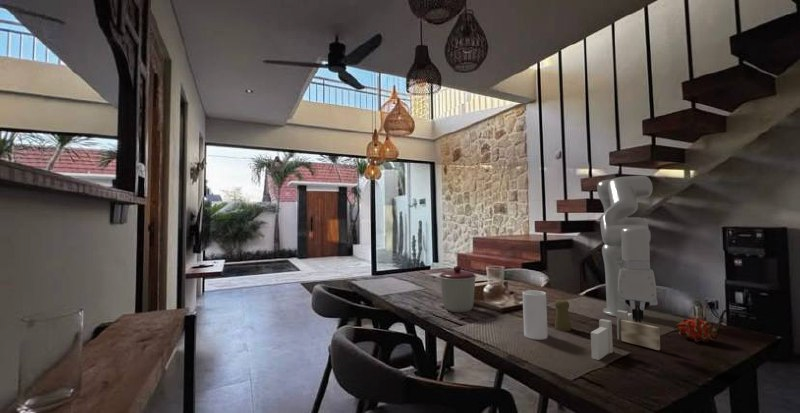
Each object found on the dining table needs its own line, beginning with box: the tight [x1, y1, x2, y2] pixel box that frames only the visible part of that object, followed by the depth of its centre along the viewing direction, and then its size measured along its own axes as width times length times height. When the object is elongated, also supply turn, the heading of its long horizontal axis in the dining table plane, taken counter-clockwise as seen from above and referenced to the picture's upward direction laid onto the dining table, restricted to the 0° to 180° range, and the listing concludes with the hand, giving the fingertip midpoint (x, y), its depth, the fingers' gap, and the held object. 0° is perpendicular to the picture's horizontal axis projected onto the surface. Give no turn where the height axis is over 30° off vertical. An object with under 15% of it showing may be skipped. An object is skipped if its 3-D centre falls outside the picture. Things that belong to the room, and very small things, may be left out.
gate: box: [618, 319, 661, 351], centre depth 115 cm, size 12×2×7 cm, turn 35°
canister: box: [438, 265, 478, 313], centre depth 165 cm, size 18×18×21 cm
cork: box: [554, 299, 572, 332], centre depth 135 cm, size 6×6×11 cm
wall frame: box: [590, 310, 634, 361], centre depth 116 cm, size 31×3×10 cm, turn 129°
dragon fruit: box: [673, 316, 720, 343], centre depth 119 cm, size 8×8×12 cm
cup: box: [522, 289, 549, 341], centre depth 128 cm, size 8×8×16 cm
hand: (638, 320), depth 112 cm, fingers closed
